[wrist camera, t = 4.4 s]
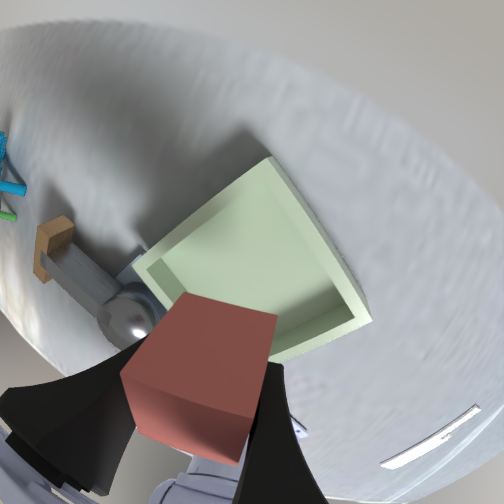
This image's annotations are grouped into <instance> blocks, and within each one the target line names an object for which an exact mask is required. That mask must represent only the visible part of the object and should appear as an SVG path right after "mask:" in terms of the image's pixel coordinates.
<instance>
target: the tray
mask: <svg viewBox="0 0 504 504" xmlns="http://www.w3.org/2000/svg"><path fill="white" fill-rule="evenodd" d="M132 267H133V268H134V269H135V271H136V272H137V273H138V275H139V276H140V277H141V278H142V280H143V281H144V282H145V284H146V285H147V286H148V287H149V289H150V290H151V291H152V292H153V293H154V295H155V296H156V297H157V298H158V300H159V301H160V302H161V303H162V304H163V305H164V307H165V308H166V309H167V310H169V309H170V308H171V307H172V305H173V304H174V303H175V302H176V300H177V299H178V298H179V297H180V296H181V294H182V293H183V292H188V293H192V294H195V295H199V296H203V297H206V298H210V299H214V300H218V301H222V302H226V303H229V304H233V305H237V306H241V307H246V308H250V309H254V310H258V311H262V312H267V313H271V314H275V315H278V317H277V322H276V327H275V331H274V336H273V340H272V345H271V349H270V354H269V358H268V361H270V362H275V363H280V362H283V361H286V360H288V359H291V358H293V357H295V356H298V355H300V354H303V353H305V352H307V351H310V350H312V349H314V348H317V347H319V346H321V345H324V344H326V343H328V342H330V341H332V340H334V339H337V338H339V337H341V336H343V335H345V334H347V333H349V332H351V331H353V330H355V329H357V328H359V327H361V326H363V325H365V324H367V323H369V322H371V321H373V320H372V317H371V313H370V309H369V306H368V302H367V299H366V297H365V295H364V294H363V292H362V290H361V288H360V287H359V285H358V283H357V282H356V280H355V278H354V277H353V275H352V273H351V272H350V270H349V268H348V267H347V265H346V263H345V262H344V260H343V258H342V257H341V255H340V254H339V252H338V250H337V249H336V247H335V246H334V244H333V242H332V241H331V239H330V238H329V236H328V235H327V233H326V231H325V230H324V228H323V227H322V225H321V224H320V222H319V221H318V219H317V218H316V216H315V215H314V213H313V212H312V210H311V209H310V207H309V206H308V204H307V203H306V201H305V200H304V198H303V197H302V195H301V194H300V193H299V191H298V190H297V188H296V187H295V185H294V184H293V183H292V181H291V180H290V178H289V177H288V176H287V174H286V173H285V171H284V170H283V169H282V167H281V166H280V164H279V163H278V162H277V160H276V159H275V158H274V156H270V157H267V158H265V159H264V160H262V161H261V162H260V163H258V164H257V165H255V166H254V167H253V168H251V169H250V170H249V171H247V172H246V173H245V174H243V175H242V176H240V177H239V178H238V179H236V180H235V181H234V182H232V183H231V184H230V185H228V186H227V187H226V188H225V189H223V190H222V191H221V192H219V193H218V194H217V195H215V196H214V197H213V198H212V199H210V200H209V201H208V202H206V203H205V204H204V205H203V206H201V207H200V208H199V209H198V210H196V211H195V212H194V213H193V214H191V215H190V216H189V217H188V218H187V219H185V220H184V221H183V222H182V223H180V224H179V225H178V226H177V227H176V228H174V229H173V230H172V231H171V232H170V233H168V234H167V235H166V236H165V237H164V238H162V239H161V240H160V241H159V242H158V243H157V244H155V245H154V246H153V247H152V248H151V249H150V250H148V251H147V252H146V253H145V254H144V255H143V256H142V257H140V258H139V259H138V260H137V261H136V262H135V263H134V264H133V265H132Z"/></svg>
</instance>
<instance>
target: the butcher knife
mask: <svg viewBox="0 0 504 504" xmlns="http://www.w3.org/2000/svg"><path fill="white" fill-rule="evenodd" d="M479 411H480V408H479V407H477V406H476V405H474V406H473V407H472V408H471V409H469V410H468V411H467V412H465V413H464V414H463V415H461V416H460V417H459V418H457V419H456V420H454V421H453V422H452V423H450V424H449V425H447V426H446V427H444V428H443V429H441V430H440V431H438V432H437V433H435V434H434V435H432V436H430V437H429V438H427V439H425V440H424V441H422V442H420V443H419V444H417V445H415V446H413V447H411V448H410V449H408V450H406V451H404V452H402V453H400V454H398V455H396V456H394V457H392V458H390V459H388V460H386V461H384V462H382V463H380V466H382V467H385V468H386V467H387V468H391V469H395V468H397V467H399V466H401V465H403V464H405V463H407V462H409V461H411V460H414V459H416V458H418V457H419V456H420V455H422V454H425V453H426V452H428V451H430V450H431V449H433V448H435V447H436V446H438V445H440V444H441V443H443V442H444V441H446V440H448V439H449V438H451V437H452V436H450V433H449V432H450V431H451V430H453V429H454V428H456V427H458V425H460V424H461V423H463V422H464V421H466V420H467V419H469V418H470V417H472V416H473V415H474V414H476V413H477V412H479ZM447 433H449V434H447ZM446 434H447V435H446ZM443 436H444V437H443ZM387 468H386V469H387Z"/></svg>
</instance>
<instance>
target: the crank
mask: <svg viewBox="0 0 504 504" xmlns="http://www.w3.org/2000/svg"><path fill="white" fill-rule="evenodd" d="M74 228H75V225H74V224H73V223H72V222H71V221H70V220H69V219H68V218H67V217H66V216H65V215H62V216H59V217H57V218H55V219H52V220H50V221H48V222H46V223H43V224H41V225H39V226H37V234H36V243H35V254H34V270H33V273H34V274H35V275H36V276H37V277H38V278H39V279H40V280H41V281H42V283H43V284H45V283H46V282H48V281H49V280H51V279H52V278H53V279H54V280H55V281H56V282H57V283H58V284H59V285H60V286H61V287H62V288H63V289H64V290H66V291H67V292H68V293H69V294H70V295H71V296H72V297H73V298H74V299H75V300H76V301H77V302H78V303H79V304H81V305H82V306H83V307H84V308H85V309H86V310H87V311H88V312H90V313H91V314H92V315H93V316H94V317H95V318H96V319H97V320H98V324H99V326H100V329H101V331H102V332H103V334H104V335H105V337H106V338H107V339H108V340H109V341H110V342H111V343H112V344H113V345H114V346H115V347H117V348H118V349H120V350H124V349H126V348H127V347H129V346H131V345H132V344H134V343H135V342H137V341H138V340H140V339H141V338H143V337H145V336H146V335H148V334H149V333H151V332H152V331H153V329H154V328H155V327H156V325H157V324H158V323H159V322H160V320H161V319H162V318H163V317H164V315H165V314H166V313H167V309H166V308H165V307H164V305H163V304H162V303H161V302H160V301H159V300H158V298H157V297H156V296H155V295H154V293H153V292H152V291H151V290H150V289H149V287H148V286H147V285H146V284H143V283H140V282H129V283H127V284H126V285H125V286H123V285H121V284H120V283H119V282H118V281H116V280H115V279H114V278H113V277H112V276H110V275H109V274H108V273H107V272H106V271H104V270H103V269H102V268H101V267H100V266H98V265H97V264H96V263H95V262H94V261H93V260H92V259H90V258H89V257H88V256H87V255H86V254H85V253H84V252H82V251H81V250H80V249H79V248H78V247H77V246H76V245H75V244H74V243H73V242H72V237H73V232H74Z"/></svg>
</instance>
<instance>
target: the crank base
mask: <svg viewBox="0 0 504 504" xmlns="http://www.w3.org/2000/svg"><path fill="white" fill-rule="evenodd" d="M145 253H146V252H145V251H144V252H142V253H141V254H140V255H139V256H137V257H136V258H135V259H134V260H133V261H132V262H131V263H130V264H129V265H128V266H126V267H125V268H124V269H123V270H122V271H121V272H120V273H119V274H118V275H117V276H116V277H115V278H114V279H115V280H116V281H118V282H119V283H120V284H121V285H123V286H125V285H126V284H127V283H129V282H140V283H143V284H145V282H144V281H143V280H142V278H141V277H140V276H139V275H138V273H137V272H136V271H135V269H134V268H133V267H132V265H133V264H134V263H135V262H136V261H137V260H138V259H139V258H140V257H142V256H143V255H144V254H145ZM167 312H168V310H167Z"/></svg>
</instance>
